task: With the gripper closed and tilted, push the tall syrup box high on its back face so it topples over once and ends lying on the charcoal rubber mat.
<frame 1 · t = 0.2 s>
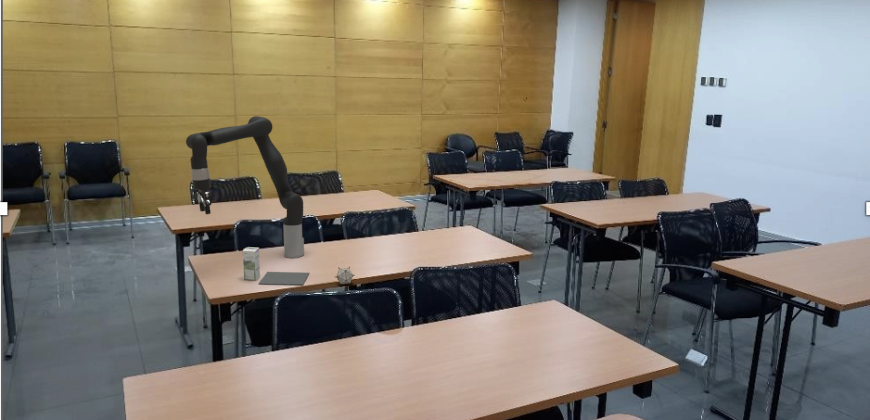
hand: (205, 212, 287), 30 cm above the table, tool pointing down, fingers open, 8 cm apart
syrup box: (252, 278, 289), on the table
spiked polyhedron ball: (344, 284, 285), on the table
mat: (284, 279, 289), on the table
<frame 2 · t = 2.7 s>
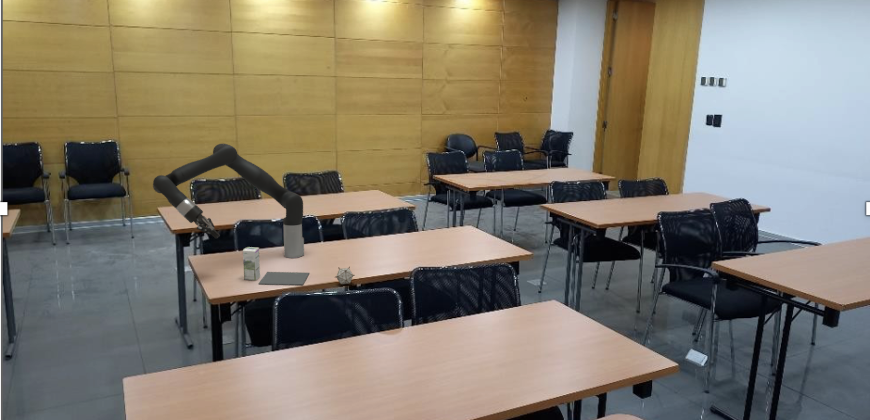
hand: (218, 236, 284), 20 cm above the table, tool tilted 45°, fingers closed
nothing on the table moved.
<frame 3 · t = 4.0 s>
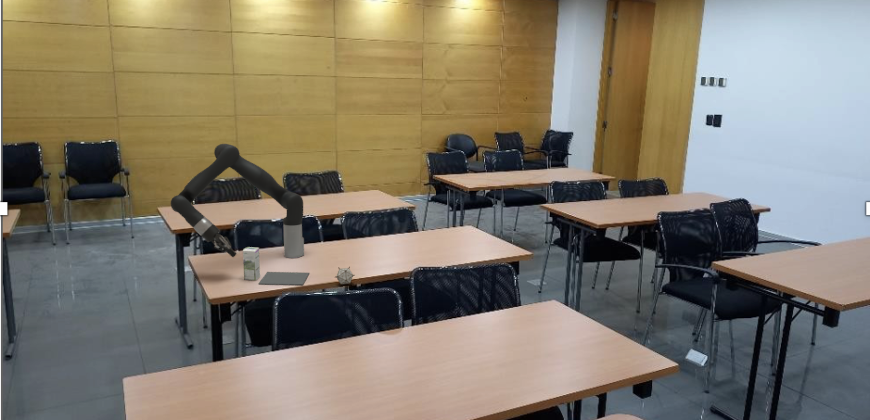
hand: (234, 255, 286), 11 cm above the table, tool tilted 45°, fingers closed
nothing on the table moved.
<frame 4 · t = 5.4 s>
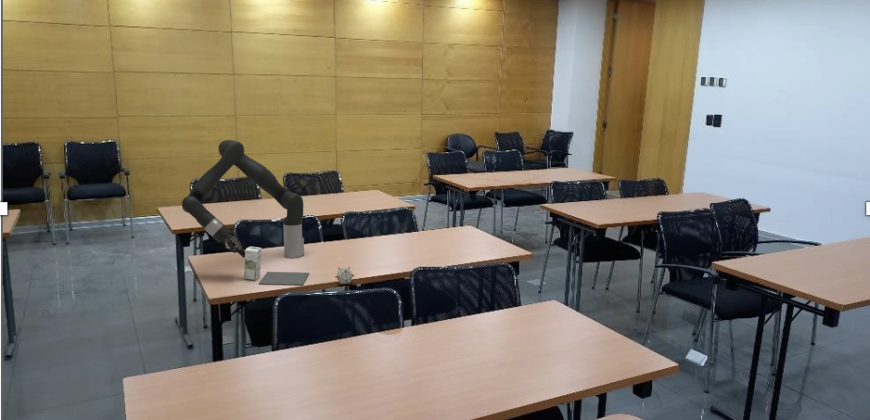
hand: (245, 256, 287), 11 cm above the table, tool tilted 45°, fingers closed
syrup box: (252, 278, 289), on the table, touching gripper
everything else where it was.
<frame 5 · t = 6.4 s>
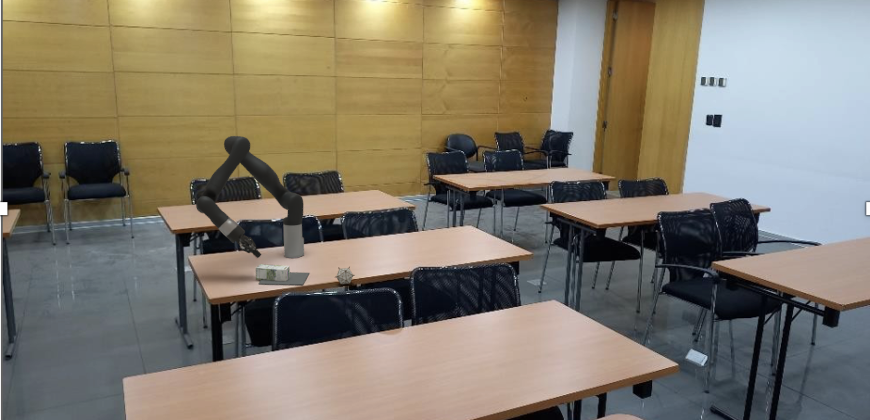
hand: (259, 256, 287), 11 cm above the table, tool tilted 45°, fingers closed
syrup box: (257, 271, 288), point 3 cm above the table, touching mat
everything else where it was.
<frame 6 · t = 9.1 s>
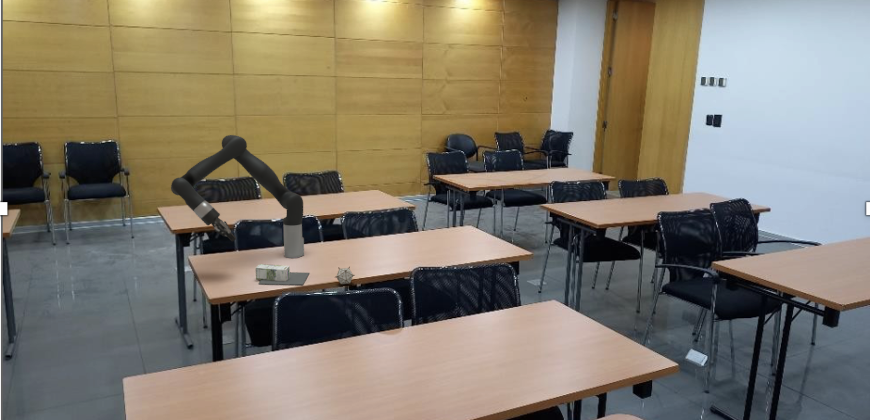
hand: (234, 240, 285), 18 cm above the table, tool tilted 45°, fingers closed
nothing on the table moved.
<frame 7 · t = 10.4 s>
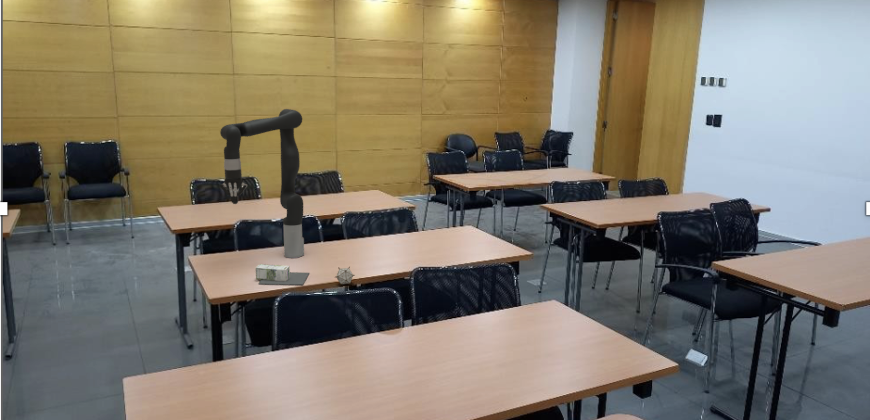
hand: (235, 203, 298), 32 cm above the table, tool pointing down, fingers closed
nothing on the table moved.
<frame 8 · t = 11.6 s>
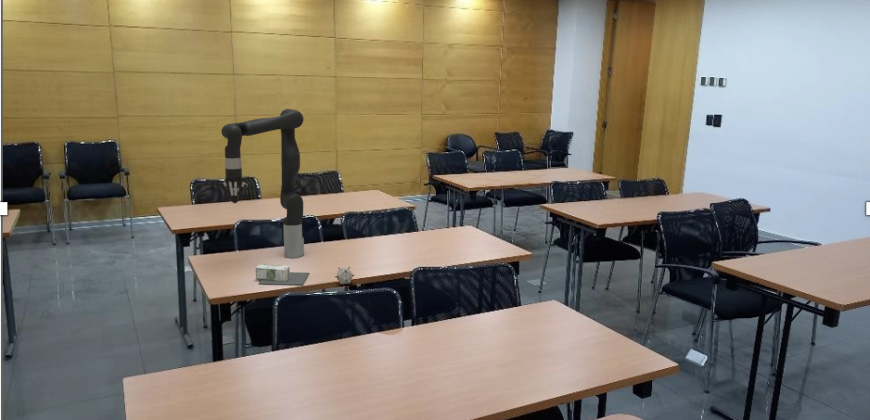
hand: (235, 202, 298), 32 cm above the table, tool pointing down, fingers closed
nothing on the table moved.
at the end: syrup box tilted 90°; syrup box touching mat; syrup box moved 4.3 cm from its start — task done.
